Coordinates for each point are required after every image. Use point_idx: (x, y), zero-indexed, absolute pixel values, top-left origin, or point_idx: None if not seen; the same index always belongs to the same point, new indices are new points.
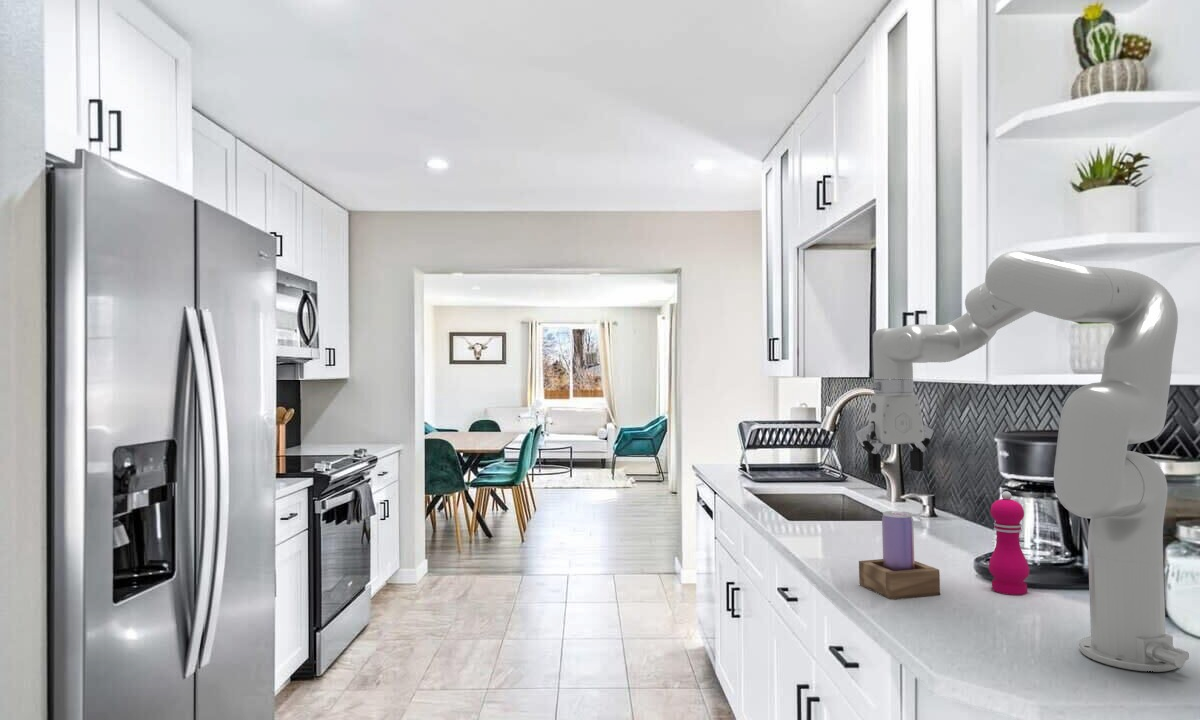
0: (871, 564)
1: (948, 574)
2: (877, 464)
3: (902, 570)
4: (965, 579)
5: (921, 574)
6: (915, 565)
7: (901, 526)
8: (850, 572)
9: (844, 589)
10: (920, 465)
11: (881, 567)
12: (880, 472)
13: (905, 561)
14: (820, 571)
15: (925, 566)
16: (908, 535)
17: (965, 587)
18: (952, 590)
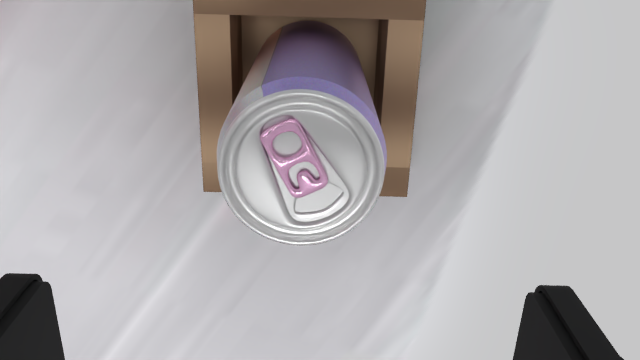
0: (397, 137)
1: (27, 179)
2: (609, 354)
3: (345, 17)
4: (3, 110)
5: None
6: (232, 84)
7: (333, 77)
8: (327, 291)
9: (474, 135)
10: (8, 307)
11: (392, 86)
12: (543, 286)
13: (317, 38)
14: (408, 325)
15: (214, 42)
16: (295, 60)
17: (61, 24)
18: (130, 7)
